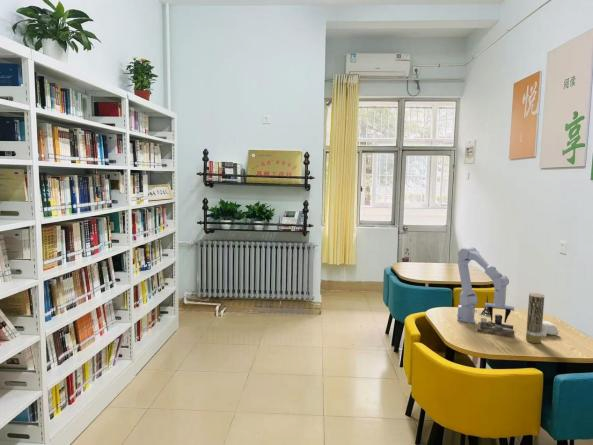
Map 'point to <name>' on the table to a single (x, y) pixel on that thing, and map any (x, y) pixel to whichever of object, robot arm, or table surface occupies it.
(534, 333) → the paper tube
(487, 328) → the vise base
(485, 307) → the eiffel tower figurine
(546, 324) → the white curved shape
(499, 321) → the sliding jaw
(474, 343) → the table surface
